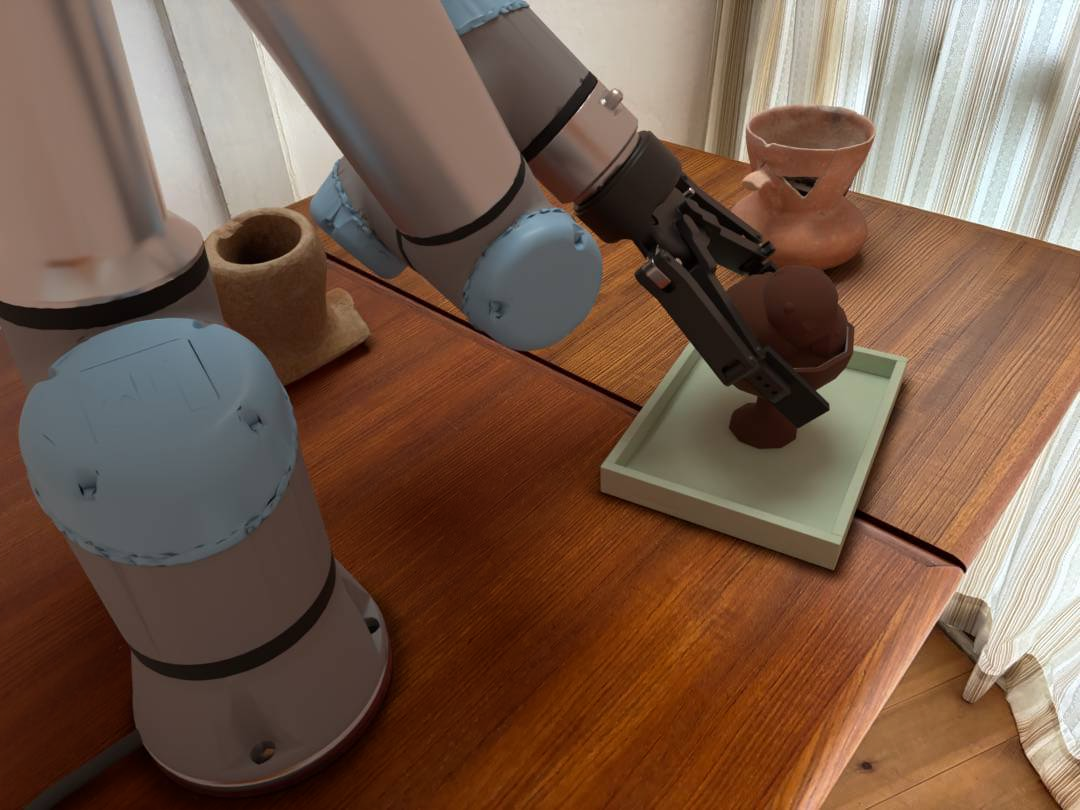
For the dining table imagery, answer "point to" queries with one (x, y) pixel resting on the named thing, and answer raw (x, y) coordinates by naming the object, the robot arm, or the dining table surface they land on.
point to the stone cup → (282, 291)
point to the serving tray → (757, 457)
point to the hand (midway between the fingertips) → (811, 367)
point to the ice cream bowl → (790, 341)
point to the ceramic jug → (806, 182)
